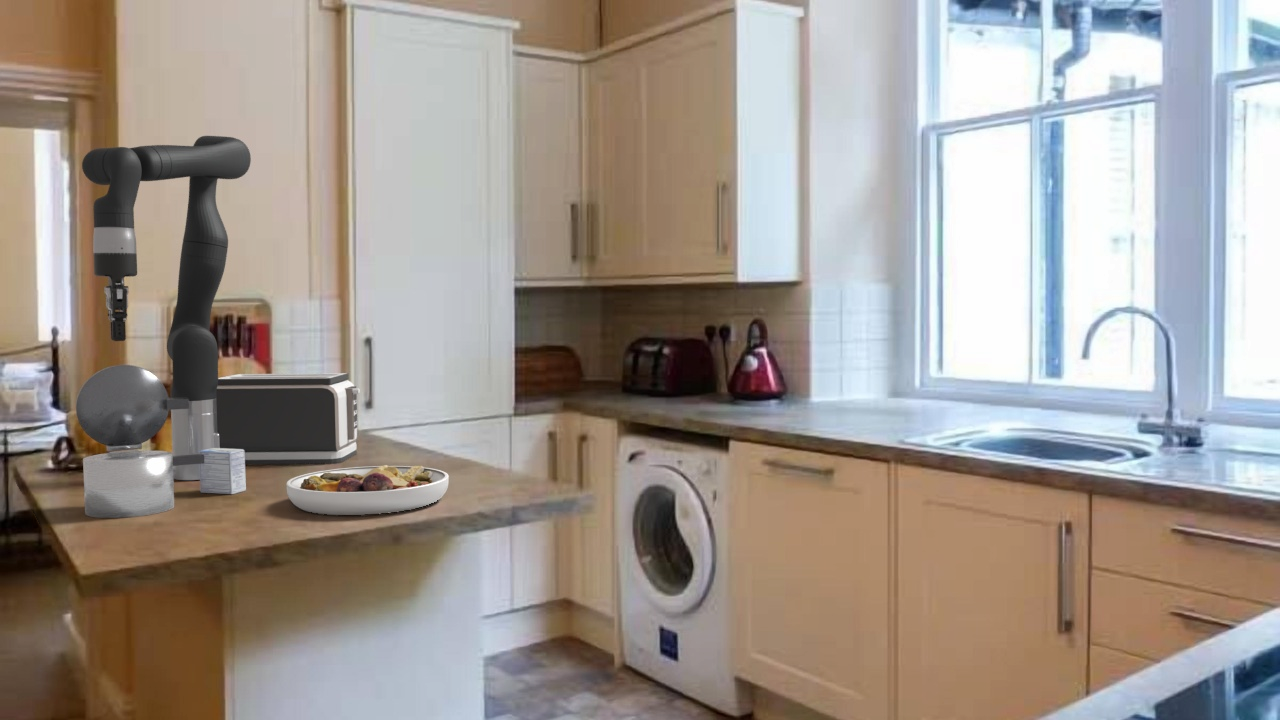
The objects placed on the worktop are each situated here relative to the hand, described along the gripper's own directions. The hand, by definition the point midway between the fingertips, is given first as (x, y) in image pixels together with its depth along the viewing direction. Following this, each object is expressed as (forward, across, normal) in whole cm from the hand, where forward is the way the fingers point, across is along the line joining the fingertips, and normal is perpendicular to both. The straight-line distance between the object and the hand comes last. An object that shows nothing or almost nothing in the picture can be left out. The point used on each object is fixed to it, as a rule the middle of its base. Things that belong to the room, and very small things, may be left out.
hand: (118, 340), depth 208 cm
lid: (+13, -7, -2) cm, 15 cm away
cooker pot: (+31, -12, -3) cm, 33 cm away
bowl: (+32, -30, -40) cm, 59 cm away
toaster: (+31, +37, -40) cm, 63 cm away
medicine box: (+31, -2, -18) cm, 36 cm away
